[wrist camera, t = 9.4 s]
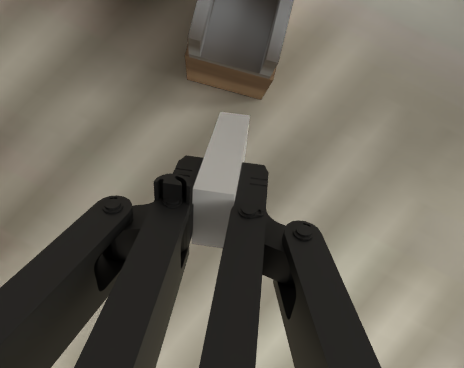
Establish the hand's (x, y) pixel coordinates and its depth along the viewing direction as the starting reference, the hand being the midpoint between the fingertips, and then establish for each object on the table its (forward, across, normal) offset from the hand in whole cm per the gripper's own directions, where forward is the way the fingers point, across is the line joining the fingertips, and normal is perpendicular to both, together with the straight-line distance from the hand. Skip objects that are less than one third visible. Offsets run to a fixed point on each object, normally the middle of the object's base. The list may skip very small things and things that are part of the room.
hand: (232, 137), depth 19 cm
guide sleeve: (+16, -1, +2) cm, 17 cm away
